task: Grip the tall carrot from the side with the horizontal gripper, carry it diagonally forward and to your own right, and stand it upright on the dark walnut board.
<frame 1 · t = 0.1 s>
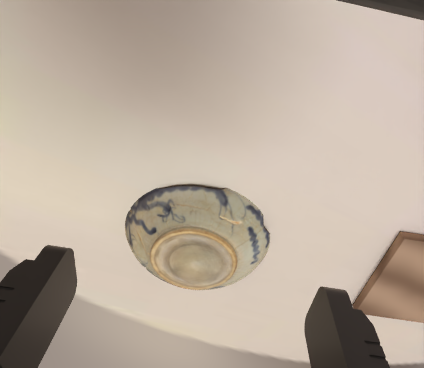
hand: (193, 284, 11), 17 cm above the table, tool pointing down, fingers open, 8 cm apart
decorative bowl: (197, 234, 35), on the table
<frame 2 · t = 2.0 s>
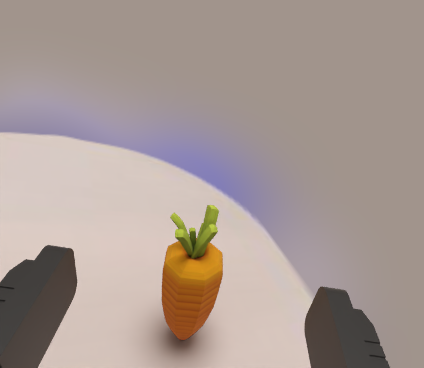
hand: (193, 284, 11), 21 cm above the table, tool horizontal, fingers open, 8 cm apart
carrot: (181, 338, 32), on the table
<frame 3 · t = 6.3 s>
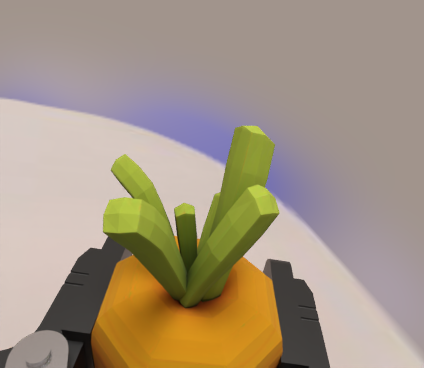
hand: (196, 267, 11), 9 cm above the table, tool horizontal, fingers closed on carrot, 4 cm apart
when the fingers open (11 cm above the table, at t = 10.6 s): carrot stays where it is, resting on walnut board.
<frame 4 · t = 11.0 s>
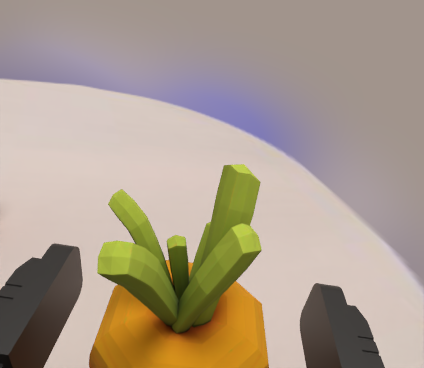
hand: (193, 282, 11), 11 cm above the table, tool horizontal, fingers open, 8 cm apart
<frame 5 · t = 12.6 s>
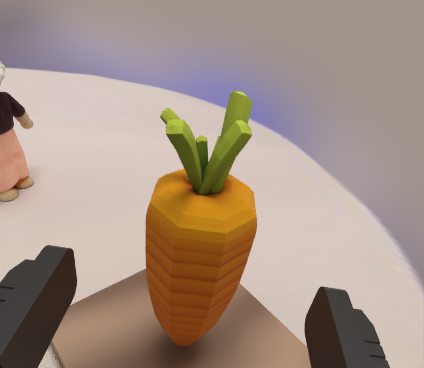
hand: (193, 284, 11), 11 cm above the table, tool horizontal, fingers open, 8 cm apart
carrot: (181, 343, 20), point 1 cm above the table, touching walnut board
walnut board: (181, 349, 20), on the table
grandmother figurine: (7, 192, 31), on the table
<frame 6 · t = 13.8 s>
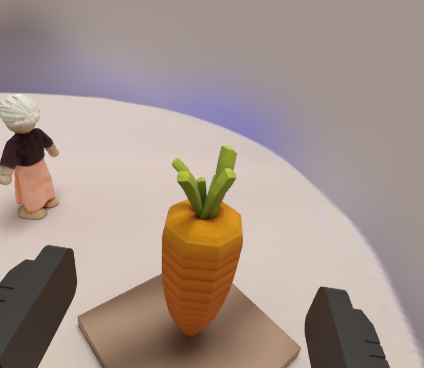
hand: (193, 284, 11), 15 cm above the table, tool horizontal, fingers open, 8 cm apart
carrot: (189, 335, 25), point 1 cm above the table, touching walnut board
walnut board: (188, 340, 25), on the table
grandmother figurine: (37, 211, 36), on the table
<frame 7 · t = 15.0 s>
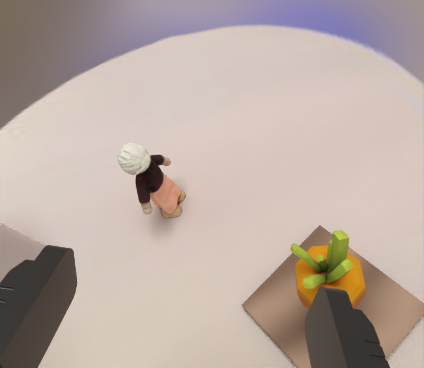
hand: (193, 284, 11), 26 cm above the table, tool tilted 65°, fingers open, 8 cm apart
carrot: (328, 308, 32), point 1 cm above the table, touching walnut board
walnut board: (328, 308, 32), on the table
grandmother figurine: (173, 207, 44), on the table
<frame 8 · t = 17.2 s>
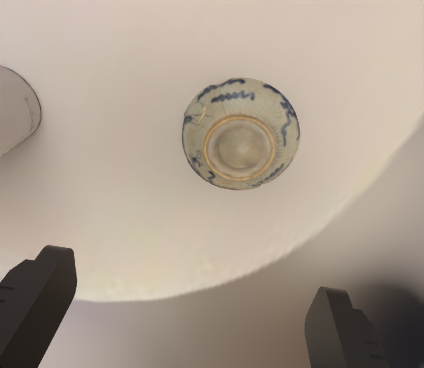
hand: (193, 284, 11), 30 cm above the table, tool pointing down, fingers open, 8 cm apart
decorative bowl: (238, 137, 41), on the table
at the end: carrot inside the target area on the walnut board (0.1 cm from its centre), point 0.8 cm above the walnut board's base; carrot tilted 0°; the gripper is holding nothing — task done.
